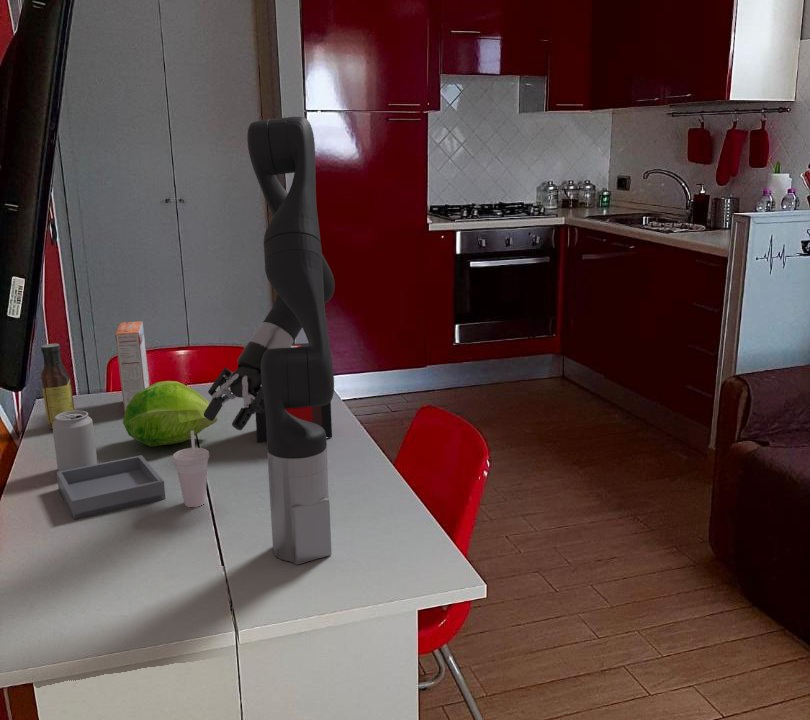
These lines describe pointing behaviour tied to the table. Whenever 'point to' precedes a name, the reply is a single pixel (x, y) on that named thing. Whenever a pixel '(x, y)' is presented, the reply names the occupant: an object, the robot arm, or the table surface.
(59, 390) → the sauce bottle
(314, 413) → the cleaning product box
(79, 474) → the tray
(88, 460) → the can
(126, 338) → the cracker box
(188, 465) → the smoothie
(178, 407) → the lettuce
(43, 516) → the table surface
